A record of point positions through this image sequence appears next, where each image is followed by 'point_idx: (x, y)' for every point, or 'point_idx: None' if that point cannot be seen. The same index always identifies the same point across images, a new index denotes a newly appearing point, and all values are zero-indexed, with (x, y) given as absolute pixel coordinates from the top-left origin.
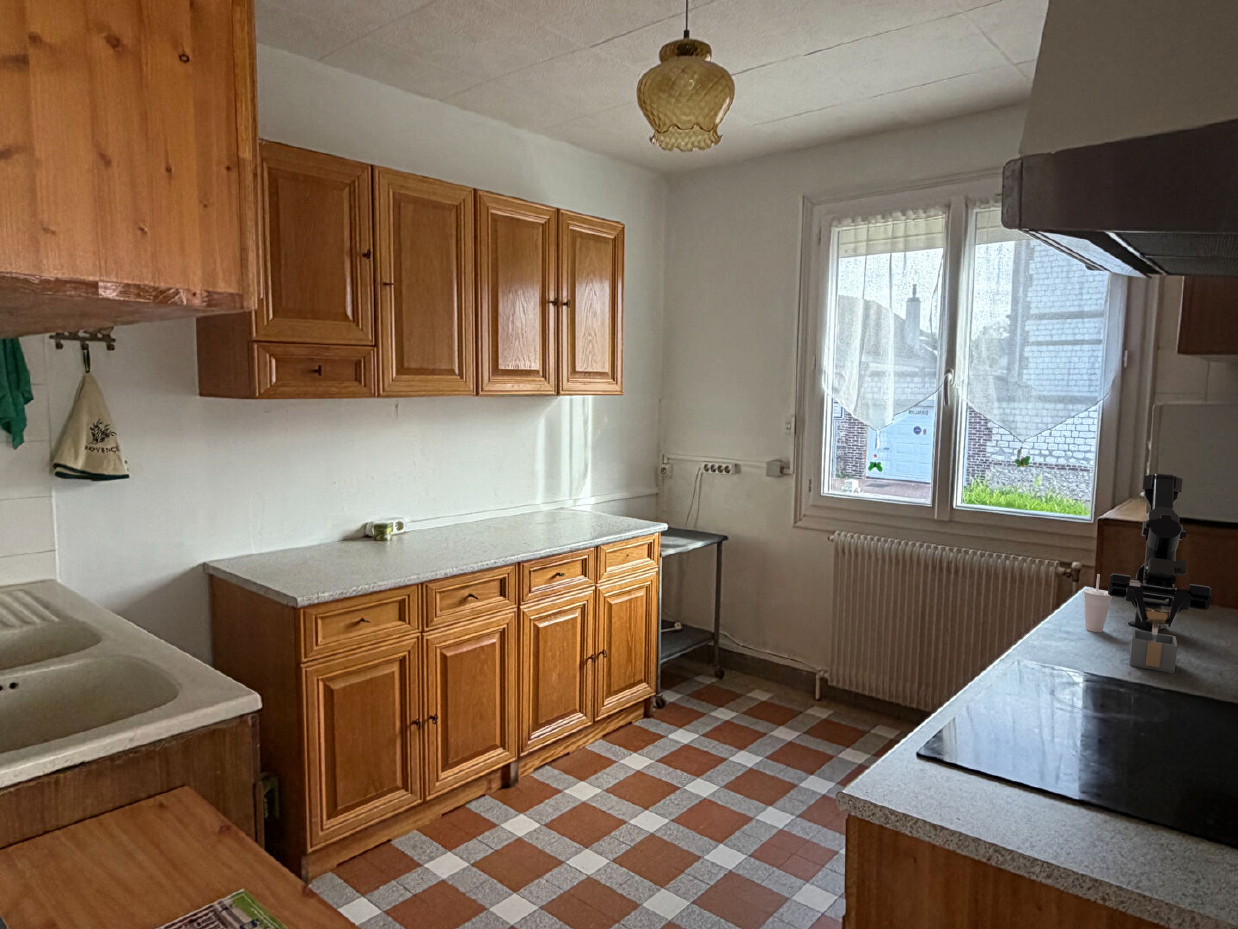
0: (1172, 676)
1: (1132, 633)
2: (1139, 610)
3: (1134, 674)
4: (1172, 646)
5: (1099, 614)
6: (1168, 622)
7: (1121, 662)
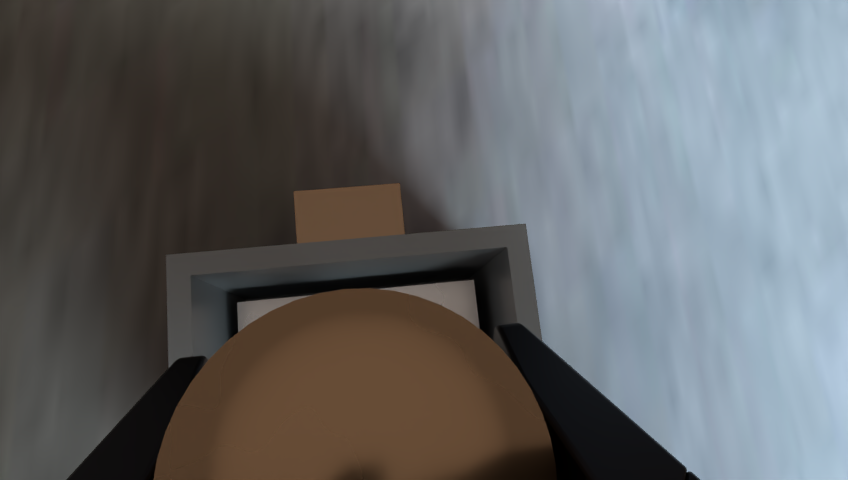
0: (242, 218)
1: None
2: (617, 412)
3: (435, 98)
4: (210, 254)
5: None
6: None
7: None
